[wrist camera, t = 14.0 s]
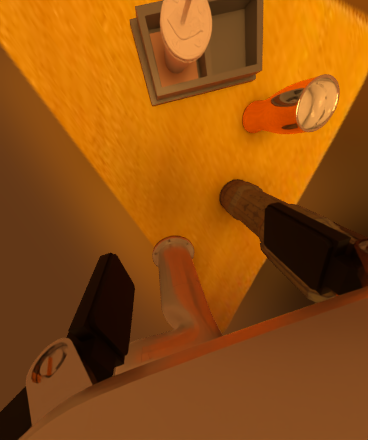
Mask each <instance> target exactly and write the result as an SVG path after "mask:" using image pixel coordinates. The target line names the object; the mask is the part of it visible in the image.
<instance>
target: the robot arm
mask: <svg viewBox="0 0 368 440" xmlns="http://www.w3.org/2000/svg"><path fill="white" fill-rule="evenodd" d="M350 239H351V237H349V236H347V235H345V234H343V233H341V232H339V231H337V230H335V229H333V228H331V227H329V226H327V225H325V224H323V223H321V222H318V221H316V220H314V219H312V218H310V217H308V216H306V215H304V214H302V213H300V212H298V211H296V210H294V209H292V208H290V207H288V206H286V205H284V204H282V203H279V202H276V203H272V204H269V205H267V208H265V217H264V245H265V247H266V248H267V249H268V250H270V251H271V252H272V253H273V254H274V255H275V256H276V257H277V258H278V259H279V260H280V261H281V262H282V263H284V264H285V265H286V266H287V267H288V268H289V269H290V270H291V271H292V272H293V273H294V274H295V275H296V276H298V277H299V278H300V279H301V280H302V281H303V282H304V283H305V284H306V285H307V286H308V287H309V288H311V289H312V290H316V291H317V292H318V293H319V294H320V295H323V294H326V293H329V292H331V290H332V291H333V292H335V293H336V297H333V298H330V299H327V300H325V301H322V302H319V303H316V304H313V305H310V306H307V307H304V308H301V309H299V310H296V311H293V312H290V313H287V314H285V315H281V316H278V317H276V318H273V319H270V320H267V321H264V322H261V323H259V324H256V325H253V326H250V327H247V328H245V329H242V330H239V331H236V332H233V333H230V334H227V335H225V336H223V335H222V333H221V331H220V330H219V328H218V326H217V324H216V322H215V320H214V318H213V316H212V314H211V311H210V309H209V306H208V304H207V301H206V298H205V295H204V292H203V290H202V287H201V284H200V281H199V278H198V275H197V272H196V269H195V267H194V264H193V261H192V259H193V256H194V248H193V246H192V244H191V242H190V241H189V240H187V239H185V238H183V237H179V236H173V237H168V238H165V239H163V240H161V241H160V242H159V243H158V244H157V245H156V246H155V248H154V250H153V261H154V263H155V264H156V266H158V267H159V279H160V292H161V307H162V312H163V315H164V317H165V319H166V320H167V322H168V323H169V324H170V325H171V326H172V327H173V328H174V329H175V330H172V331H169V332H165V333H161V334H157V335H153V336H150V337H146V338H142V339H139V340H136V341H133V342H131V343H129V341H130V331H131V330H130V329H131V320H132V312H133V302H134V291H135V288H134V284H133V282H132V280H131V278H130V277H129V275H128V273H127V272H126V270H125V268H124V267H123V265H122V263H121V262H120V260H119V258H118V256H117V255H116V254H114V255H113V254H112V253H108V254H105V255H102V256H100V258H99V260H98V263H97V265H96V267H95V270H94V272H93V274H92V277H91V279H90V281H89V284H88V286H87V288H86V291H85V293H84V295H83V298H82V300H81V302H80V305H79V307H78V309H77V312H76V314H75V317H74V319H73V321H72V323H71V326H70V328H69V333H68V335H67V337H66V338H62V339H58V340H57V341H55V342H53V343H51V344H50V345H49V346H48V347H46V348H45V349H44V350H43V351H42V352H41V353H40V354H39V356H38V357H37V358H36V360H35V361H34V363H33V364H32V366H31V367H30V369H29V372H28V374H27V377H26V387H25V388H24V389H23V390H22V391H21V392H20V393H19V394H18V395H17V396H16V397H15V398H14V399H13V400H12V401H11V402H10V403H9V404H8V405H7V406H6V407H5V408H4V409H3V410H2V411H1V412H0V440H368V238H365V239H359V240H357V241H355V243H354V244H352V243H350ZM115 367H116V373H115V376H112V375H113V371H114V368H115Z"/></svg>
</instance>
